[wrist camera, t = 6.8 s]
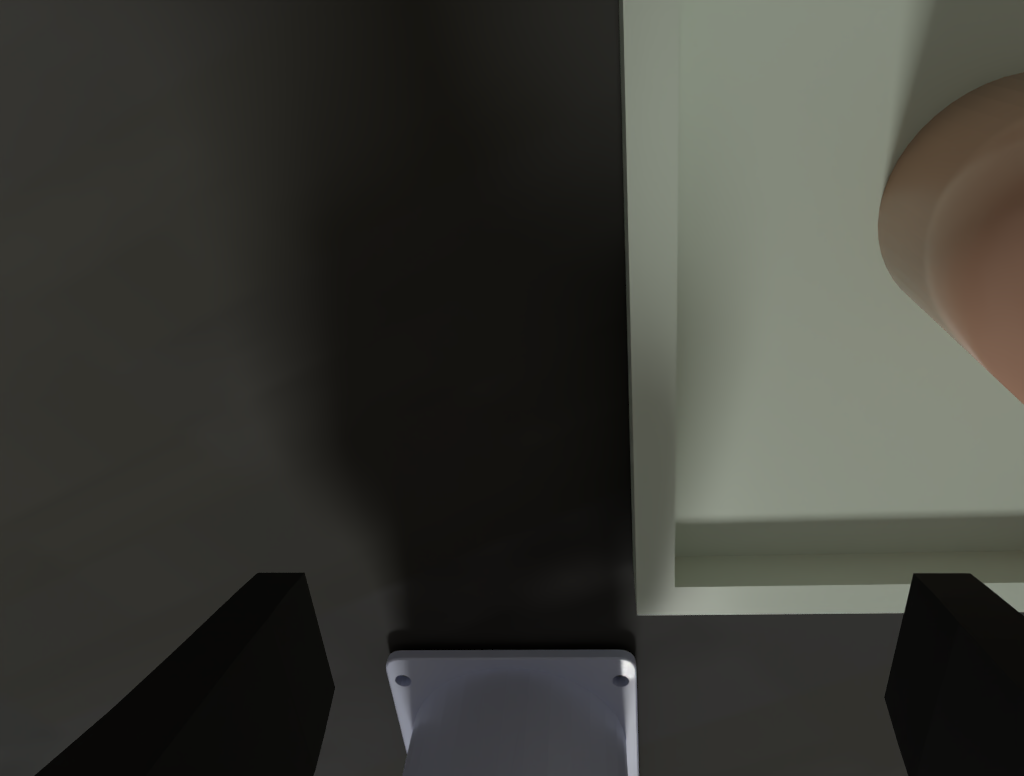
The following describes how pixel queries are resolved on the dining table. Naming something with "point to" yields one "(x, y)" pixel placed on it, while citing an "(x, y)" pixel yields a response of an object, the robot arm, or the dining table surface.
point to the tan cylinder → (965, 225)
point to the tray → (801, 312)
